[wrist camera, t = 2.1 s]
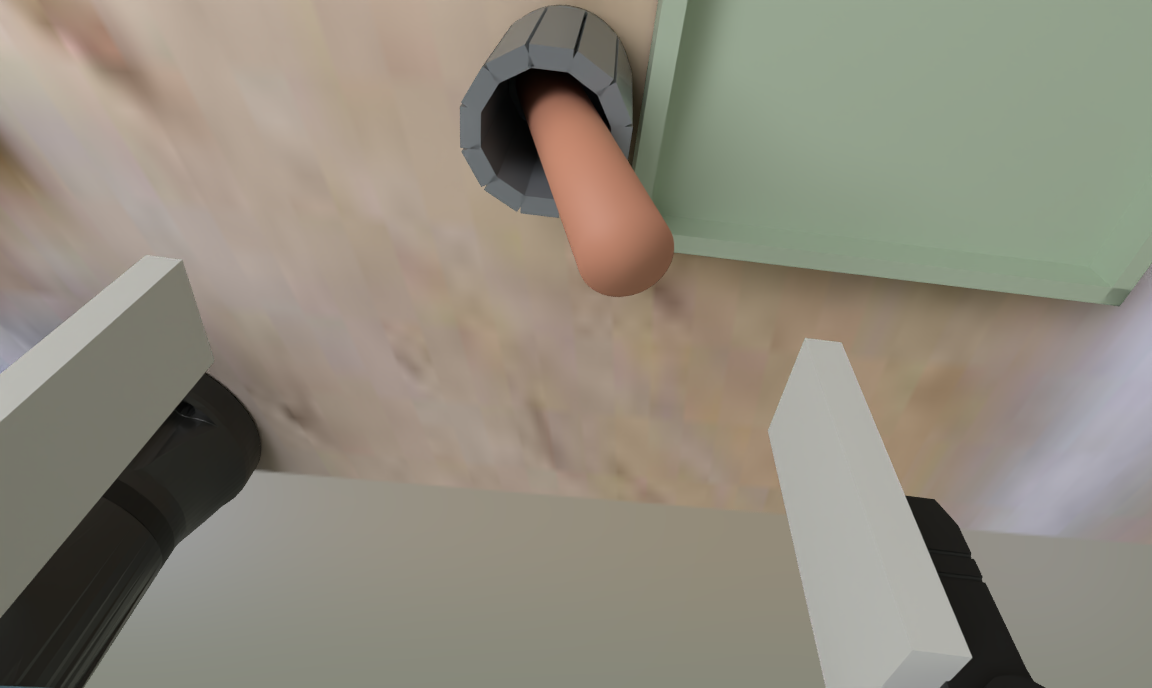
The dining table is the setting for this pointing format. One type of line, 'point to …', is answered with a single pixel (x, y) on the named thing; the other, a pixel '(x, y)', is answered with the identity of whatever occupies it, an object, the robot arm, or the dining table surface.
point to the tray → (908, 139)
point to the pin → (594, 187)
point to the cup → (496, 114)
